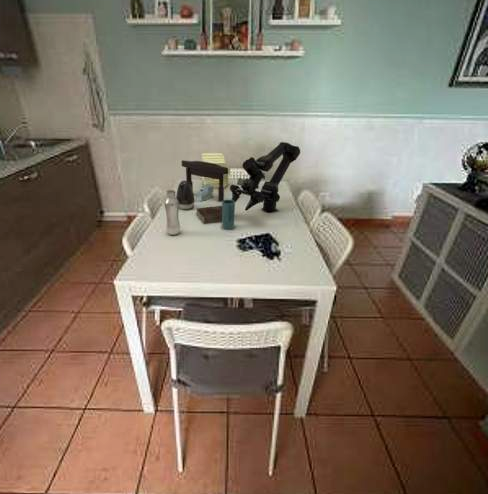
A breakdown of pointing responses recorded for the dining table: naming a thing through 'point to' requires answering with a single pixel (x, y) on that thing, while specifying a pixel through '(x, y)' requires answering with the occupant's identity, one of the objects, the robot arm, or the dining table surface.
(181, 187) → the black rounded dome
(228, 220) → the tumbler
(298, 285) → the dining table surface
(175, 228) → the plastic bottle
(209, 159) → the pale yellow striped pieces
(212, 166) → the stool
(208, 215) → the holder
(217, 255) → the dining table surface
